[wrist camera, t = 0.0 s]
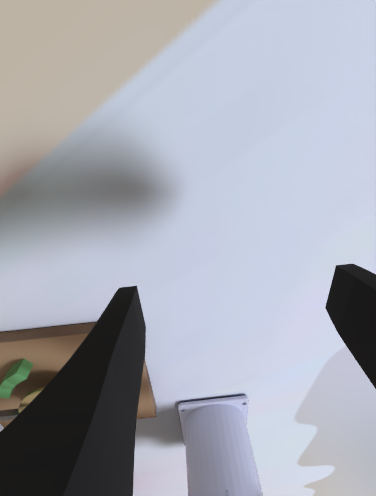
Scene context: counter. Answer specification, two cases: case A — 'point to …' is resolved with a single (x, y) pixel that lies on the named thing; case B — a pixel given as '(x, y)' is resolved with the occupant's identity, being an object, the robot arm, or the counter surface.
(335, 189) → the counter surface
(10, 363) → the dial board
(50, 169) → the counter surface
